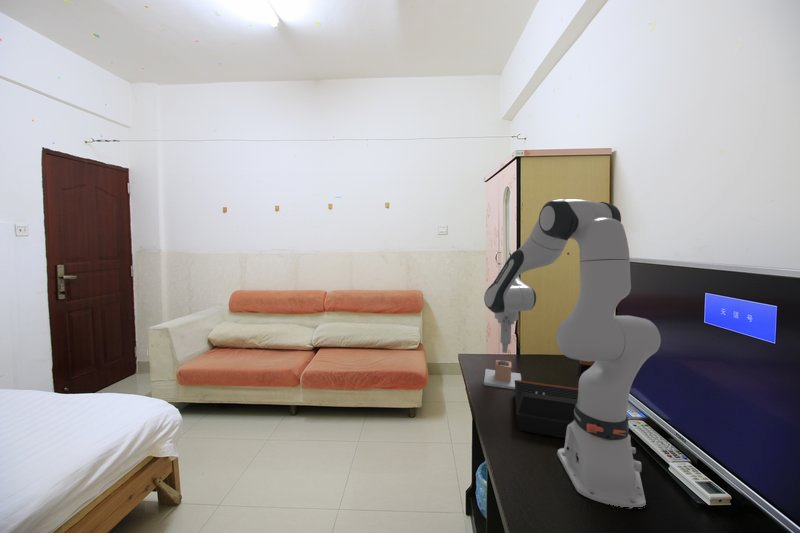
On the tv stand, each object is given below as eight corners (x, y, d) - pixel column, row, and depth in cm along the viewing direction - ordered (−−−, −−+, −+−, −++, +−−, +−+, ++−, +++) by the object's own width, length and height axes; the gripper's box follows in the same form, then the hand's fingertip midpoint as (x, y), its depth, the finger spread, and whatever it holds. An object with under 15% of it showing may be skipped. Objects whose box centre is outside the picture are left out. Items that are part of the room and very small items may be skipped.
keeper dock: (521, 390, 132) (523, 370, 131) (483, 385, 136) (484, 365, 135) (520, 375, 145) (521, 357, 144) (485, 371, 149) (486, 353, 148)
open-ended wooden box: (510, 382, 136) (511, 367, 136) (494, 379, 138) (495, 365, 137) (510, 376, 142) (511, 361, 141) (495, 373, 144) (495, 359, 143)
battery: (598, 379, 143) (600, 356, 142) (580, 377, 144) (581, 354, 143) (595, 375, 147) (597, 352, 146) (577, 373, 149) (579, 350, 148)
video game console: (599, 408, 121) (602, 380, 120) (622, 452, 97) (626, 418, 96) (513, 394, 129) (515, 368, 128) (515, 432, 105) (517, 400, 104)
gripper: (515, 321, 126) (513, 358, 128) (514, 309, 146) (512, 342, 147) (497, 319, 128) (495, 356, 129) (498, 308, 148) (497, 340, 149)
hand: (504, 348), depth 138 cm, fingers open, 8 cm apart
